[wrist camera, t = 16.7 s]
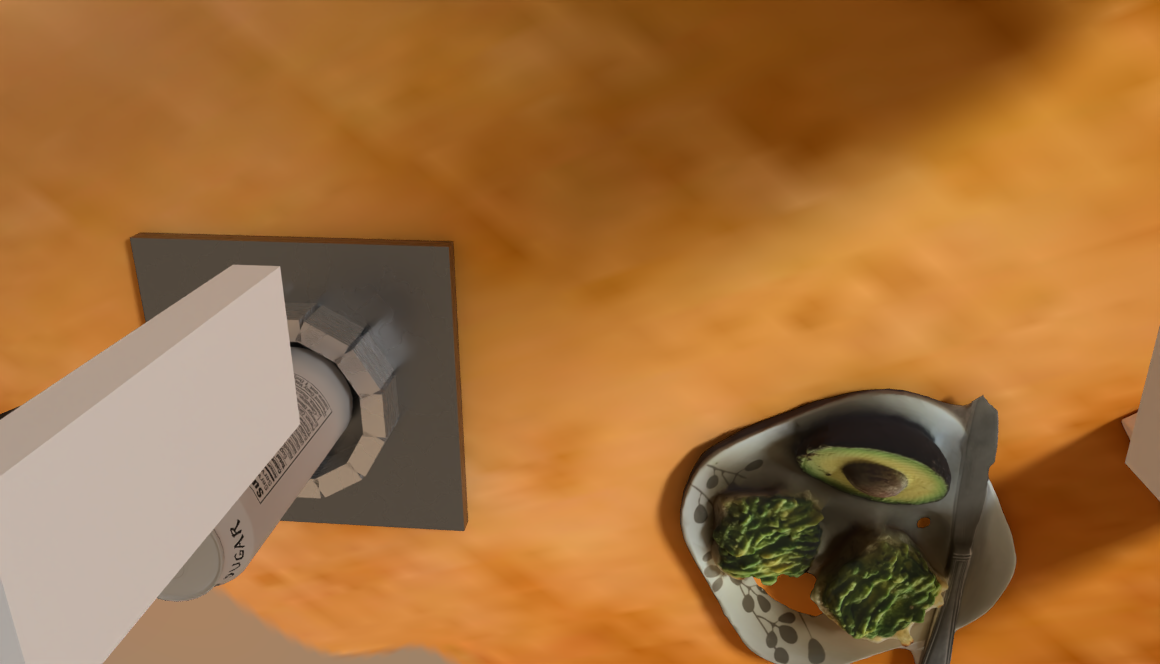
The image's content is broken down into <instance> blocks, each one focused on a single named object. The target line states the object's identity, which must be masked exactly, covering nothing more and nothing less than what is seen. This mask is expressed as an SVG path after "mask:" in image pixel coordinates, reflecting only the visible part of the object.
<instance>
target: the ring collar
mask: <svg viewBox="0 0 1160 664" xmlns="http://www.w3.org/2000/svg"><path fill="white" fill-rule="evenodd" d="M130 241H131V246H132V252H133V257H134V262H135V268H136V273H137V278H138V283H139V289H140V294H141V299H142V304H143V310H144V315H145V320H146V322H148V321H149V320H151V319H152V318H154V317H155V316H157V315H158V314H160V313H161V312H163V311H164V310H166V309H167V308H169V307H170V306H172V305H173V304H175V303H176V302H178V301H179V300H181V299H182V298H184V297H185V296H187V295H188V294H190V293H191V292H193V291H194V290H196V289H197V288H199V287H200V286H202V285H203V284H205V283H206V282H208V281H209V280H211V279H212V278H214V277H215V276H217V275H218V274H220V273H221V272H223V271H224V270H226V269H227V268H229V267H230V266H232V265H258V266H280V270H281V277H282V285H283V293H284V301H285V309H286V317H287V325H288V332H289V340H290V347H300V348H304V349H308V350H311V351H313V352H316V353H318V354H320V355H322V356H324V357H326V358H327V359H329V360H330V361H331V362H332V363H334V364H335V365H336V366H337V367H338V369H339V370H340V371H341V373H342V374H343V376H344V377H345V379H346V381H347V383H348V385H349V387H350V390H351V394H352V398H353V411H352V417H351V419H350V422H349V424H348V426H347V428H346V429H345V430H344V432H343V433H342V435H341V436H340V437H339V439H338V440H337V442H336V443H335V444H334V446H333V447H332V449H331V450H330V451H329V453H328V454H327V456H326V457H325V458H324V460H323V461H322V463H321V464H320V465H319V467H318V468H317V469H316V471H315V472H314V474H313V475H312V476H311V478H310V479H309V481H308V482H307V483H306V485H305V486H304V488H303V489H302V490H301V492H300V493H299V495H298V496H297V497H296V499H295V500H294V501H293V503H292V504H291V506H290V507H289V508H288V510H287V511H286V513H285V514H284V515H283V517H282V518H281V520H280V521H297V522H315V523H332V524H350V525H367V526H385V527H402V528H420V529H437V530H455V531H464V530H465V528H466V525H467V522H468V513H467V494H466V475H465V456H464V437H463V418H462V399H461V380H460V361H459V342H458V323H457V304H456V286H455V267H454V248H453V241H420V240H384V239H349V238H313V237H278V236H242V235H207V234H171V233H138V234H136V235H134V236H132V237H130Z"/></svg>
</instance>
